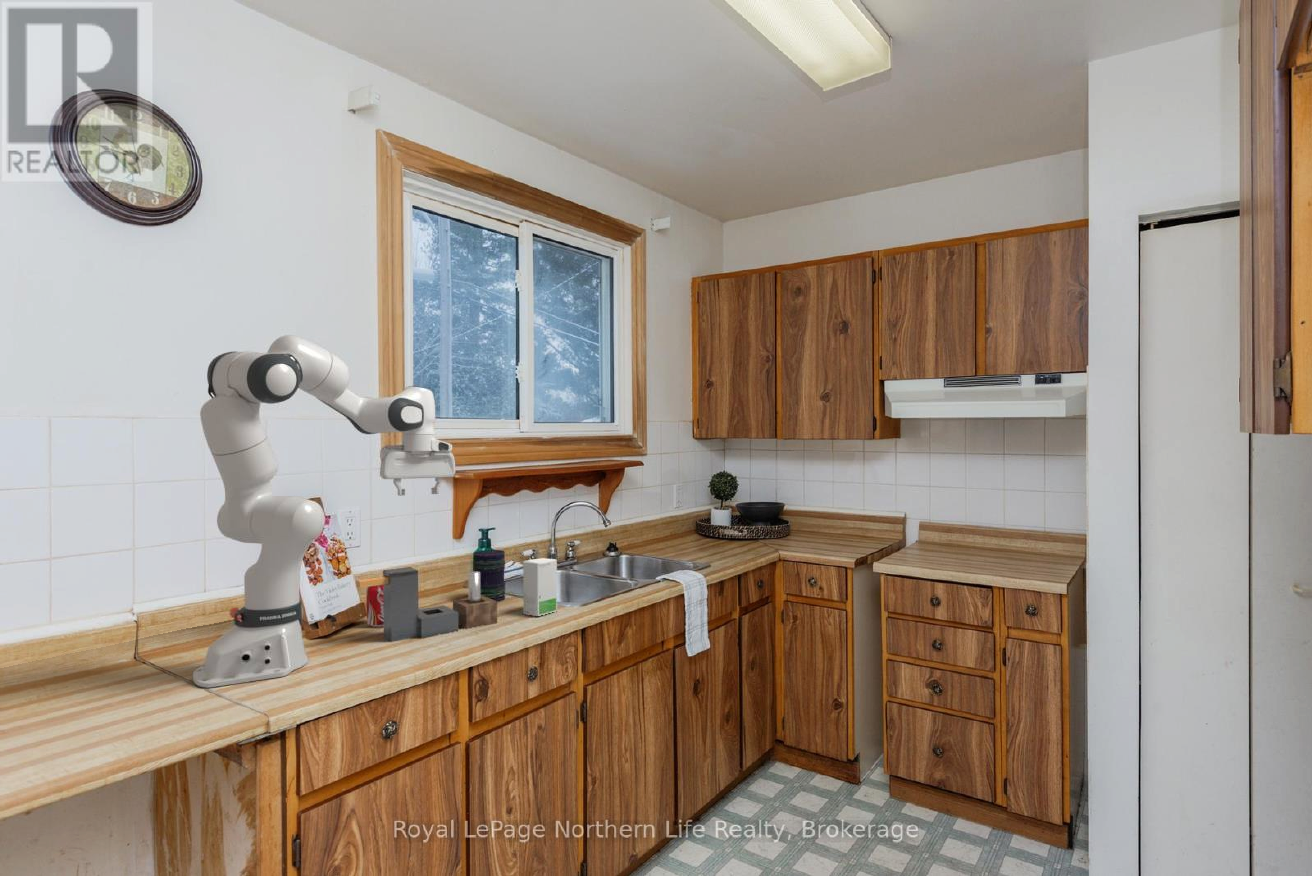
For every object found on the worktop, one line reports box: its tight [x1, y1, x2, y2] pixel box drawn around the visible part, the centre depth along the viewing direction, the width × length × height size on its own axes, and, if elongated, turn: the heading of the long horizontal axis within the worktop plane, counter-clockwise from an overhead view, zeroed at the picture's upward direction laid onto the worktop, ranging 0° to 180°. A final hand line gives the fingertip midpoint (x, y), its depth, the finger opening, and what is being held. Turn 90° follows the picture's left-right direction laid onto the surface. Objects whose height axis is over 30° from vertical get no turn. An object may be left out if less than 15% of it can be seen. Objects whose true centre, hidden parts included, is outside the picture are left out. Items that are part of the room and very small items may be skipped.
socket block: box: [382, 566, 460, 643], centre depth 186 cm, size 17×10×17 cm, turn 129°
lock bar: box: [356, 576, 389, 589], centre depth 180 cm, size 14×2×2 cm, turn 129°
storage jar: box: [472, 549, 506, 603], centre depth 222 cm, size 10×10×15 cm
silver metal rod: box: [467, 570, 481, 604], centre depth 195 cm, size 3×3×14 cm
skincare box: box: [522, 557, 558, 617], centre depth 205 cm, size 8×7×16 cm
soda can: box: [366, 585, 384, 628], centre depth 194 cm, size 7×7×12 cm
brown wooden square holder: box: [452, 596, 498, 630], centre depth 195 cm, size 9×9×6 cm
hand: (418, 494), depth 195 cm, fingers open, 8 cm apart
